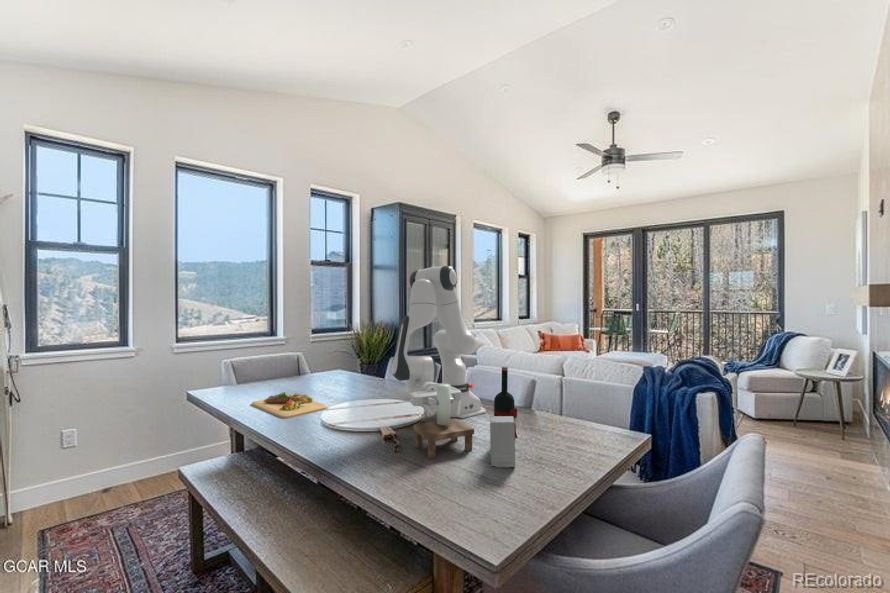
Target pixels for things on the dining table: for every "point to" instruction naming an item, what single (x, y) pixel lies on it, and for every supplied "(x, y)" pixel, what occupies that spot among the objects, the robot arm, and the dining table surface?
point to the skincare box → (502, 441)
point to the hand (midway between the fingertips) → (444, 401)
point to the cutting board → (289, 405)
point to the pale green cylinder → (443, 404)
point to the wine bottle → (505, 400)
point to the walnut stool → (442, 434)
